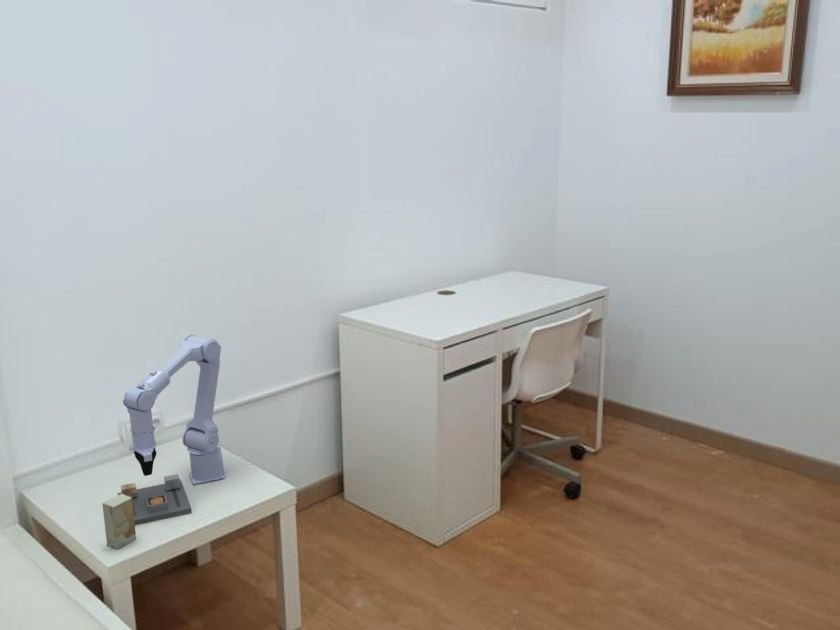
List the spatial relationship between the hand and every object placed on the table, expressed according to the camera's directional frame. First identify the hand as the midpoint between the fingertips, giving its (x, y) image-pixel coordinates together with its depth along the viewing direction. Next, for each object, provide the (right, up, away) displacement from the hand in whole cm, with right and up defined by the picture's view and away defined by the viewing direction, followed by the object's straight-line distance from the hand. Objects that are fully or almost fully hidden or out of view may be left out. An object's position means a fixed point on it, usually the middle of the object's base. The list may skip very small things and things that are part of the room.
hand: (147, 474), depth 220 cm
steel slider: (+4, -6, +10) cm, 12 cm away
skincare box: (-2, -15, -14) cm, 21 cm away
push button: (+3, -9, 0) cm, 9 cm away
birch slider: (-7, -7, +5) cm, 11 cm away
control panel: (0, -10, +4) cm, 10 cm away
